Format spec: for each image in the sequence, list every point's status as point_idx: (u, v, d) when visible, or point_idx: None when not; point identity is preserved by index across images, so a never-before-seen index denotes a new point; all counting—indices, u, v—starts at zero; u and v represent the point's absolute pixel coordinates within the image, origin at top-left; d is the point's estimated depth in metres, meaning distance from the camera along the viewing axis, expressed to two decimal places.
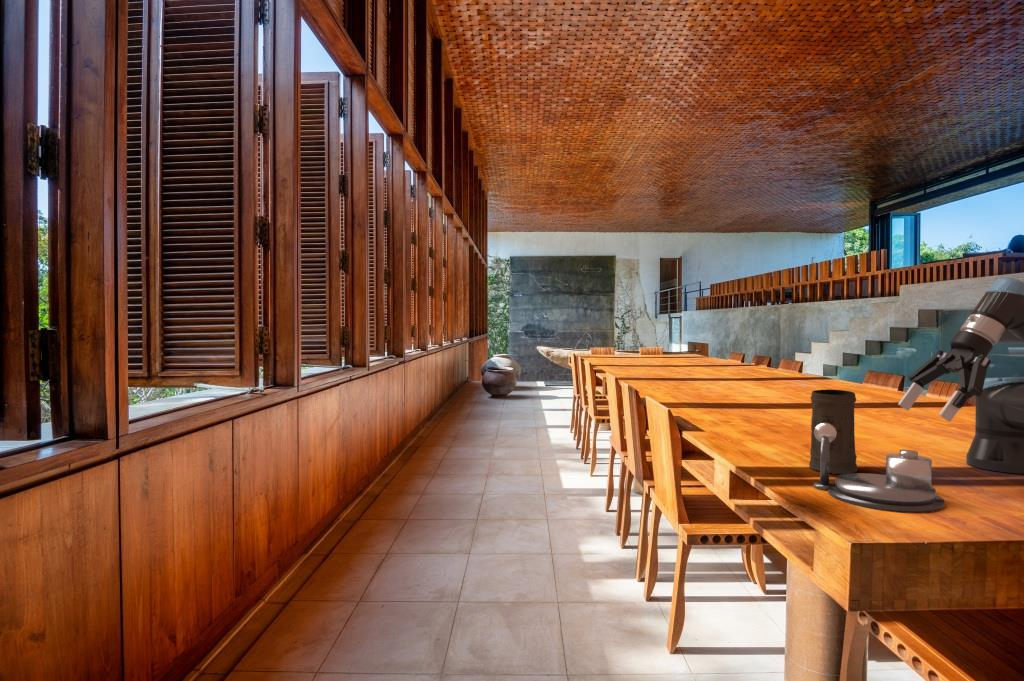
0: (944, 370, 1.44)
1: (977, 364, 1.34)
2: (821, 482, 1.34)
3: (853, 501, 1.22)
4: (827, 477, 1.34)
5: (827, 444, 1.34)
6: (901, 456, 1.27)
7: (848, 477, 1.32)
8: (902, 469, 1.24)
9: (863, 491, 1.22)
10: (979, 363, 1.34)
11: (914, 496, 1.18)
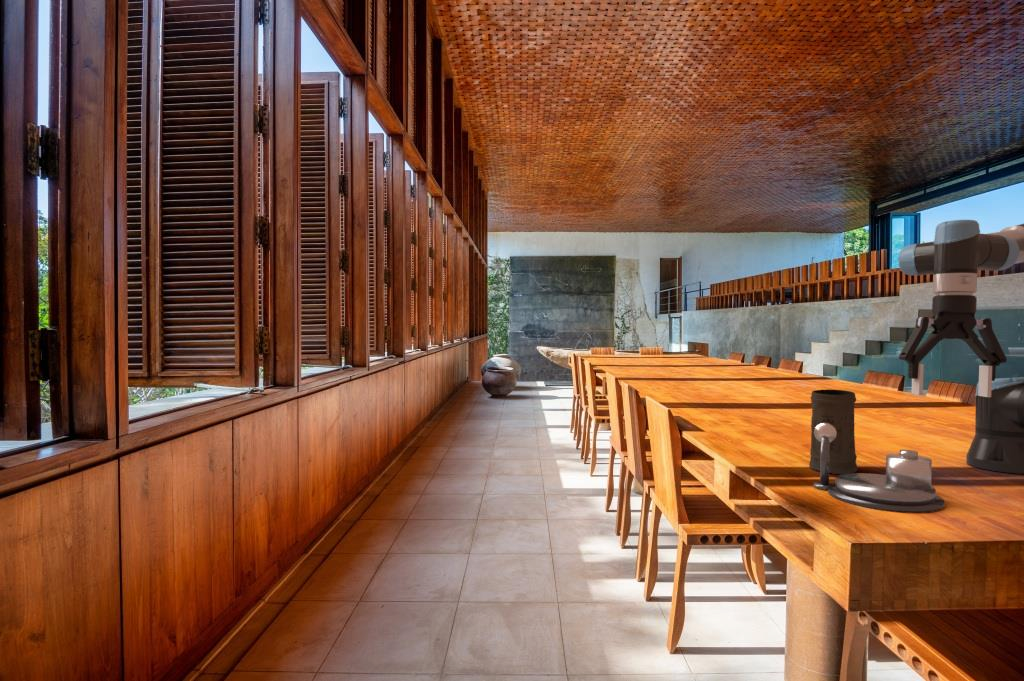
0: None
1: (991, 330, 1.25)
2: (821, 482, 1.34)
3: (853, 501, 1.22)
4: (827, 477, 1.34)
5: (827, 444, 1.34)
6: (901, 456, 1.27)
7: (848, 477, 1.32)
8: (902, 469, 1.24)
9: (863, 491, 1.22)
10: None
11: (914, 496, 1.18)
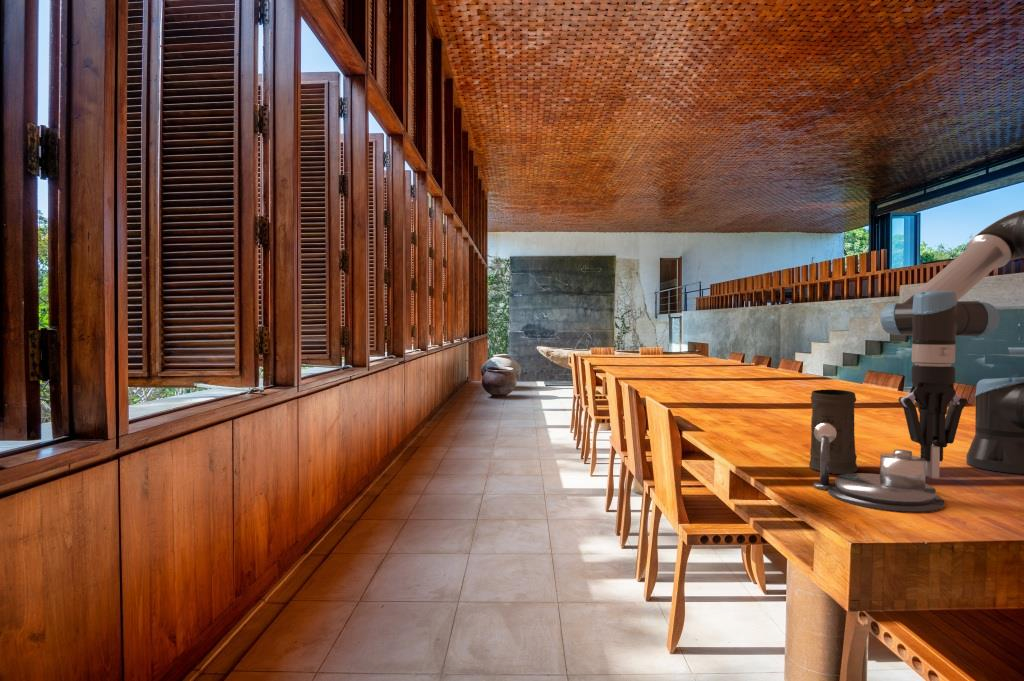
0: None
1: (960, 411, 1.25)
2: (821, 482, 1.34)
3: (853, 501, 1.22)
4: (827, 477, 1.34)
5: (827, 444, 1.34)
6: (895, 456, 1.27)
7: (848, 477, 1.32)
8: (896, 469, 1.24)
9: (863, 491, 1.22)
10: None
11: (914, 496, 1.18)
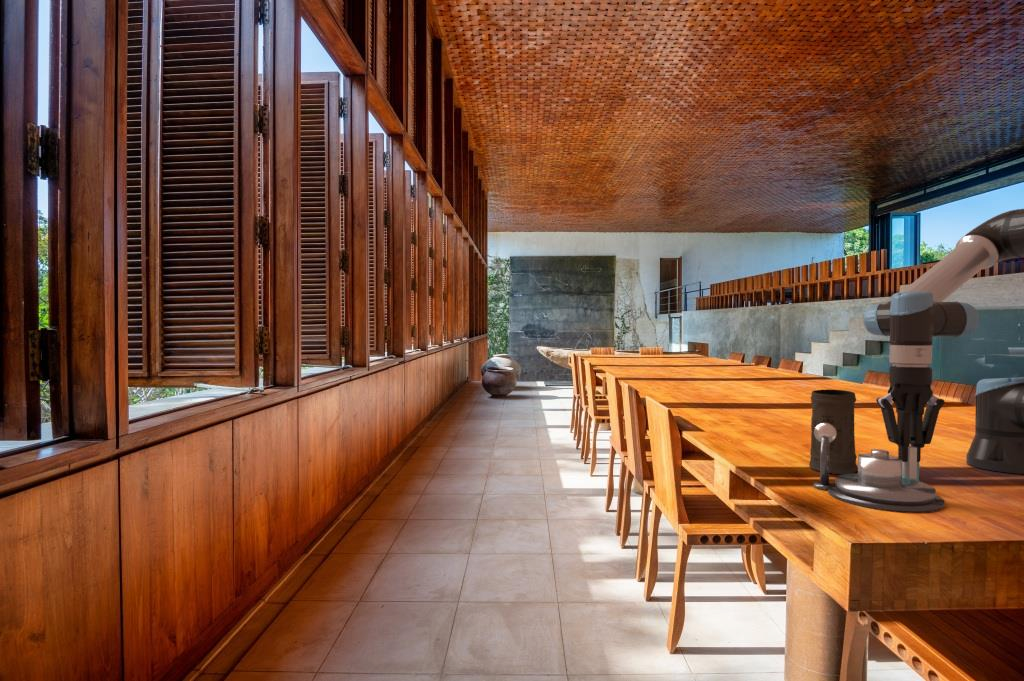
0: None
1: (937, 411, 1.25)
2: (821, 482, 1.34)
3: (853, 501, 1.22)
4: (827, 477, 1.34)
5: (827, 444, 1.34)
6: (872, 456, 1.27)
7: (848, 477, 1.32)
8: (872, 469, 1.25)
9: (863, 491, 1.22)
10: None
11: (914, 496, 1.18)
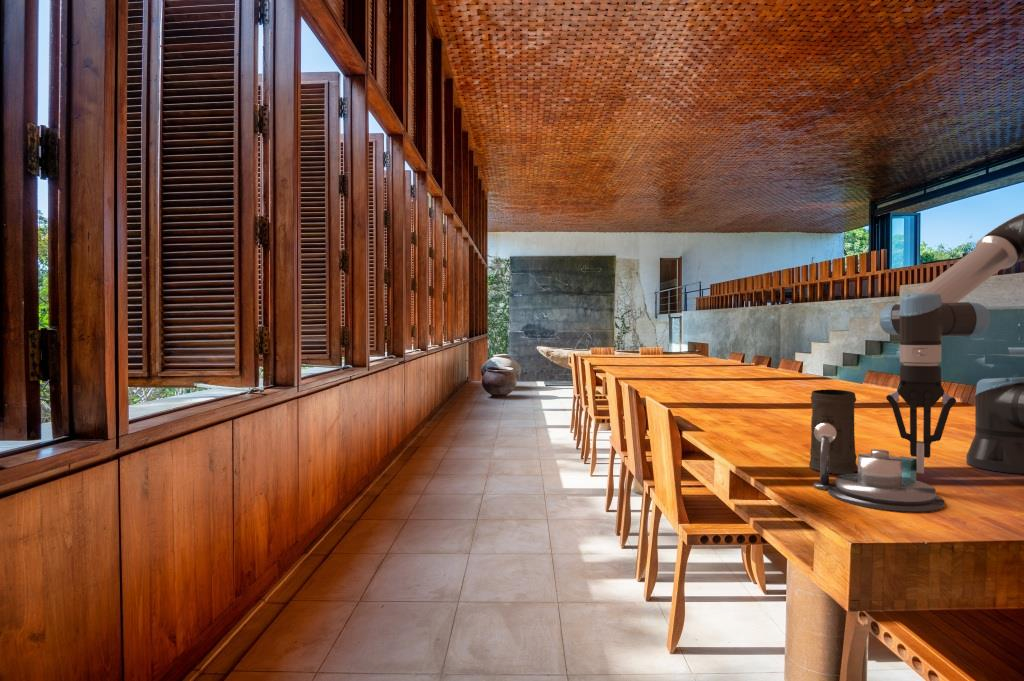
0: None
1: (948, 410, 1.28)
2: (821, 482, 1.34)
3: (853, 501, 1.22)
4: (827, 477, 1.34)
5: (827, 444, 1.34)
6: (872, 456, 1.27)
7: (847, 477, 1.32)
8: (873, 469, 1.24)
9: (865, 491, 1.22)
10: None
11: (916, 496, 1.18)
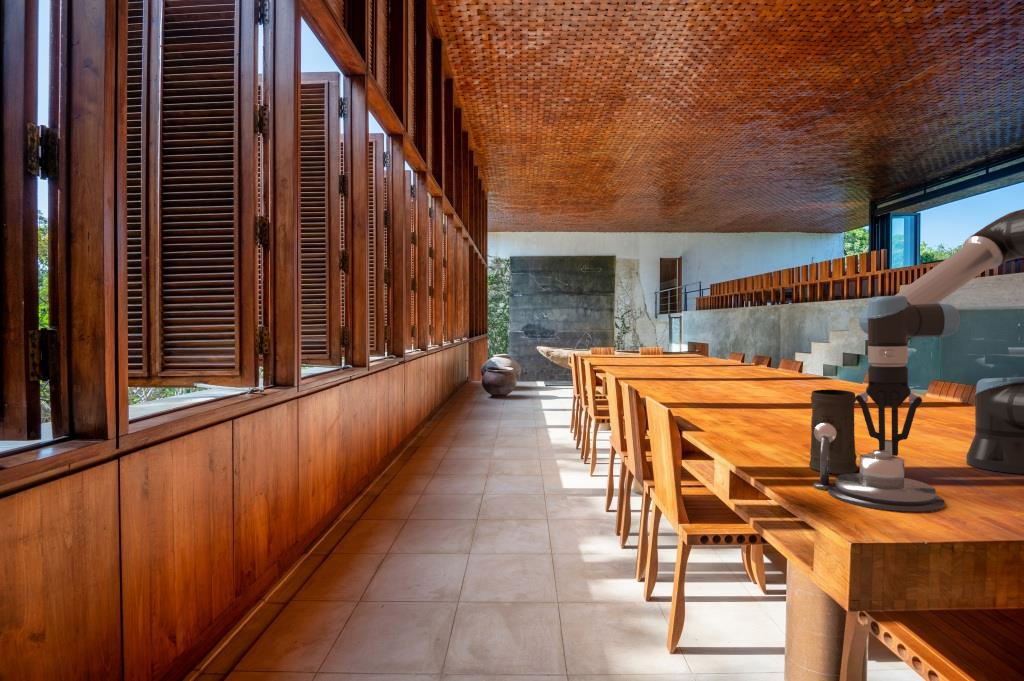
0: None
1: (914, 409, 1.31)
2: (821, 482, 1.34)
3: (853, 501, 1.22)
4: (827, 477, 1.34)
5: (827, 444, 1.34)
6: (878, 457, 1.26)
7: (847, 481, 1.29)
8: (888, 471, 1.23)
9: (893, 495, 1.19)
10: (916, 407, 1.31)
11: (932, 493, 1.20)
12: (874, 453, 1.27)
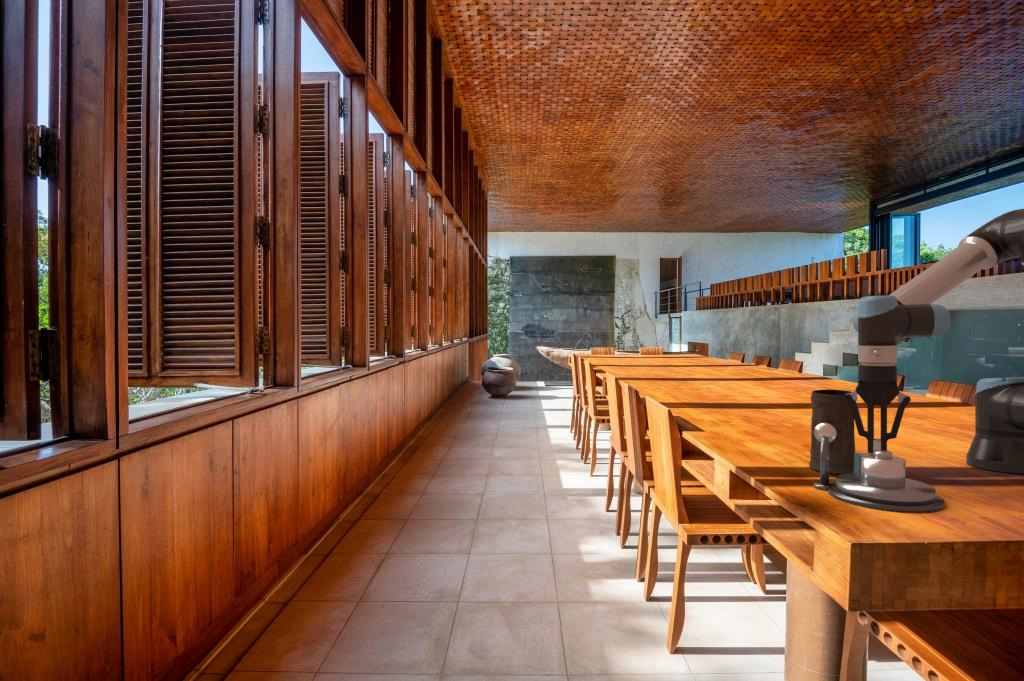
0: None
1: (903, 408, 1.32)
2: (821, 482, 1.34)
3: (853, 501, 1.22)
4: (827, 477, 1.34)
5: (827, 444, 1.34)
6: (881, 458, 1.25)
7: (851, 483, 1.27)
8: (894, 471, 1.22)
9: (906, 496, 1.18)
10: None
11: (935, 491, 1.22)
12: (877, 454, 1.26)
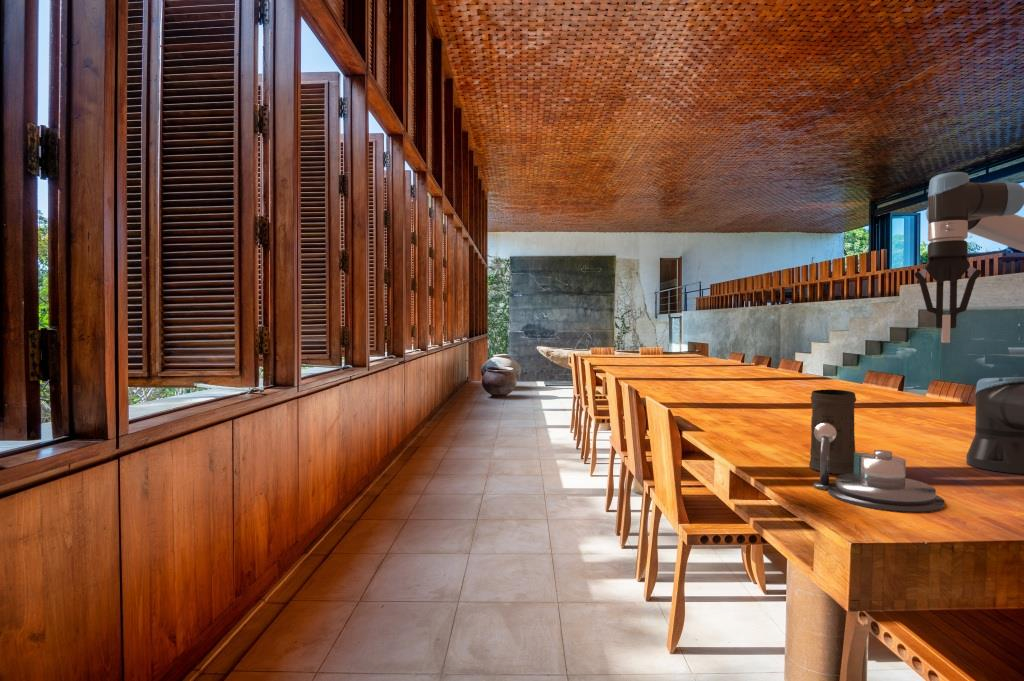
0: None
1: (974, 281, 1.36)
2: (821, 482, 1.34)
3: (853, 501, 1.22)
4: (827, 477, 1.34)
5: (827, 444, 1.34)
6: (881, 458, 1.25)
7: (851, 483, 1.27)
8: (894, 471, 1.22)
9: (906, 496, 1.18)
10: (975, 279, 1.36)
11: (935, 491, 1.22)
12: (877, 454, 1.26)
